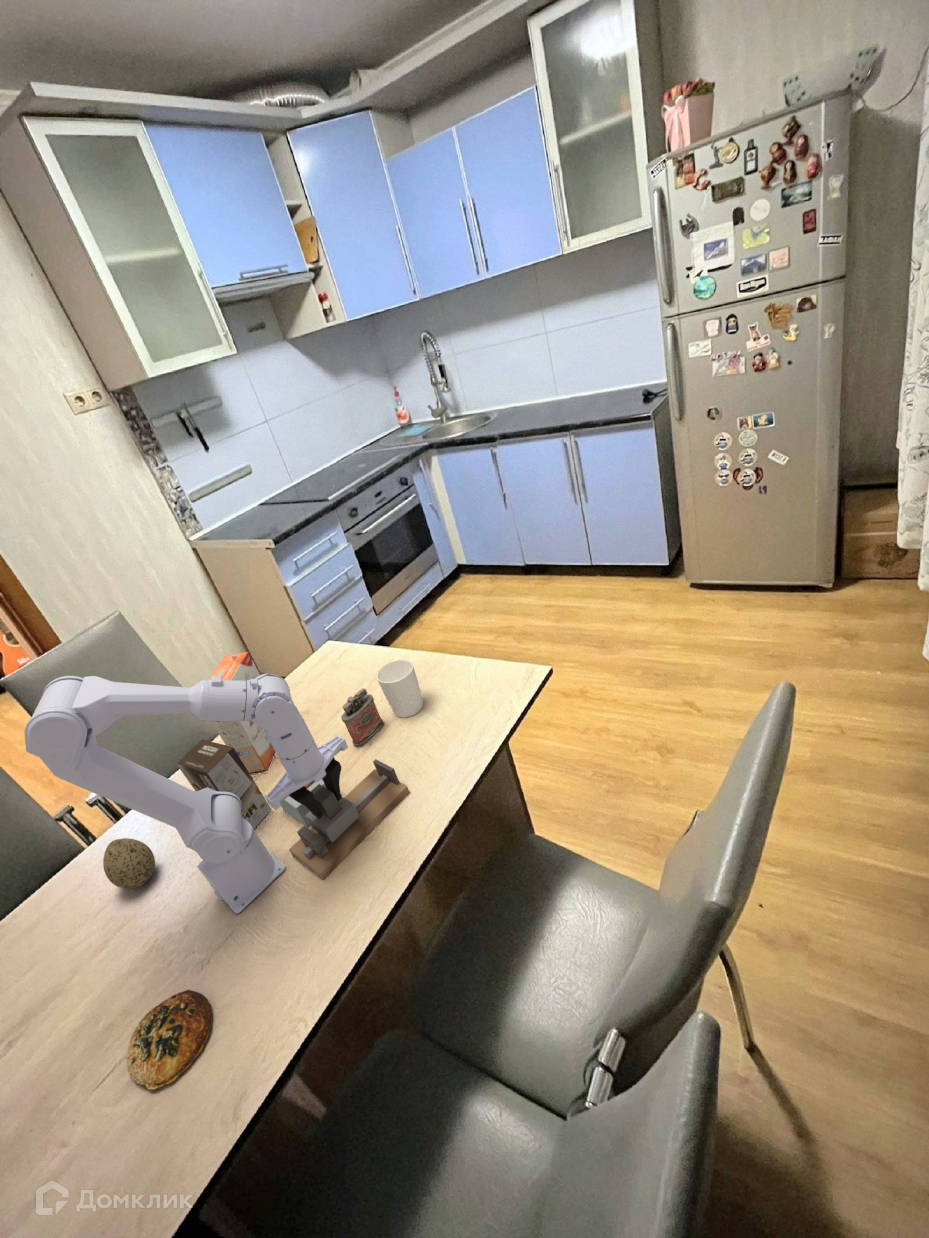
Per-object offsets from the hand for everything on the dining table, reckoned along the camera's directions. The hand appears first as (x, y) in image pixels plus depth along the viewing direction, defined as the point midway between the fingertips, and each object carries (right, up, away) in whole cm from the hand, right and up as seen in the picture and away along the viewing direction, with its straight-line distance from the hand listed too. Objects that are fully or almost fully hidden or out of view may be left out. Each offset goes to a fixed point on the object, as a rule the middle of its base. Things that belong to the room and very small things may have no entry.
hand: (327, 806), depth 94 cm
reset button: (-6, -1, +10) cm, 12 cm away
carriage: (+1, -3, +2) cm, 4 cm away
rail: (+3, -4, +5) cm, 7 cm away
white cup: (+11, +12, +29) cm, 33 cm away
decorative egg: (-33, -15, +6) cm, 37 cm away
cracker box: (-20, +3, +29) cm, 35 cm away
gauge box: (-5, -3, +11) cm, 13 cm away
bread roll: (-15, -25, -19) cm, 35 cm away
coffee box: (-18, -6, +13) cm, 23 cm away
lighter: (+3, +7, +25) cm, 26 cm away
